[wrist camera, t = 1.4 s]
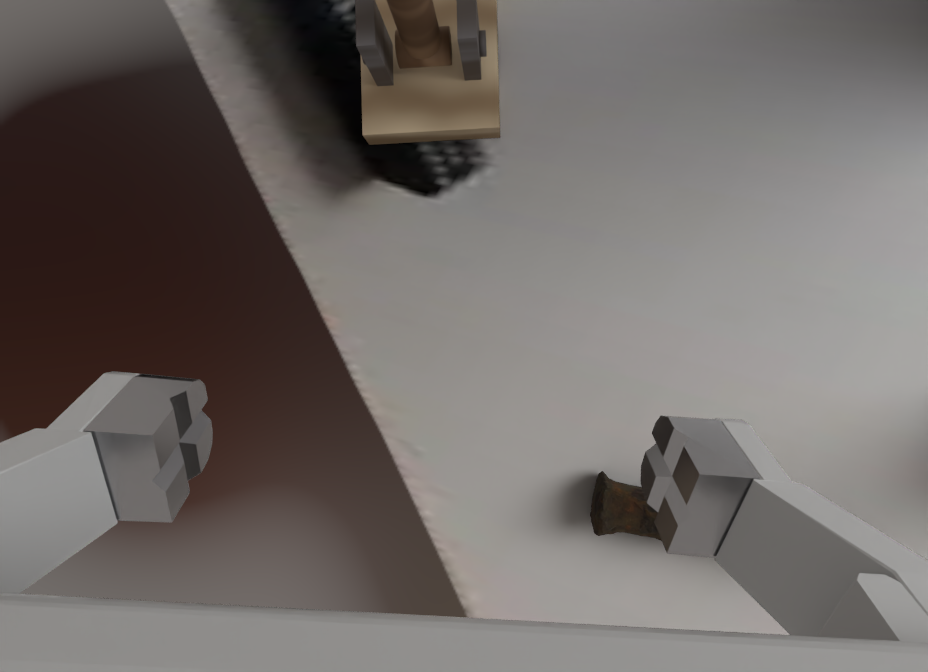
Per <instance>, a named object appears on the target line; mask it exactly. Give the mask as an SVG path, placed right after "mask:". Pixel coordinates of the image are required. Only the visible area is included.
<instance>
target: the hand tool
mask: <svg viewBox="0 0 928 672" xmlns="http://www.w3.org/2000/svg"><path fill="white" fill-rule="evenodd" d="M591 507H592V509H591V513H590V516H591V522H592V525H593V529H594V533H595V534H596V535H598V536H600V535H605V534H614V533H616V532H626V533H631V534H637V535H640V536H648V537H653V538H656V539H659V540H661V537H660V535H659V532H658V530H657V527H656V525H655V523H654V522H655V520H656V517H657V514H658V512H657V511H656V510H654V509H653V508H652V507H651V506H650V505H649V504H647V502H646V500H645V497H644V495H643V492H642V487H637V486H632V485H627V484H623V483H619V482H615V481H613V480H611V479H609V478H608V477H607V476H606V474H605V473H604V472H603V471H602V472H601V473H599V475H598V478H597V481H596V485H595V489H594V493H593V498H592V506H591ZM661 541H662V540H661Z"/></svg>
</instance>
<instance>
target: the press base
mask: <svg viewBox="0 0 928 672" xmlns="http://www.w3.org/2000/svg"><path fill="white" fill-rule="evenodd" d="M433 4H434V8H435V13H436V17H437V21H438V25H439V26H449V27H450V33H451V43H452V65H450V66H435V67H420V68H405V69H400V68H399V66H398V63H397V58H396V51H395V31H396V30H397V27H396V25H395V22H394V19H393V16H392V14H391V11H390V8H389V6H388V3H387V0H355V14H356V47H357V49H358V51H359V52H360V54H361V92H362V135H363V136H364V138H365V139H366V141H367V142H368V143H369V145H374V144H392V143H410V142H428V141H446V140H464V139H482V138H500V117H499V76H498V35H497V0H433Z"/></svg>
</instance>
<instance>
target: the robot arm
mask: <svg viewBox="0 0 928 672" xmlns="http://www.w3.org/2000/svg"><path fill="white" fill-rule="evenodd" d="M207 400H208V399H207V394H206V389H205V384H204V383H203V382H201V381H200V380H199V379H190V378H179V377H168V376H159V375H148V374H137V373H125V372H108V373H104V374H103V375H102V376H101V377H100V378H99V379H98V380H97V381H96V382H94V383H93V384H92V385H91V386H90V387H89V388H88V389H87V390H86V391H85V392H84V393H83V394H82V395H81V396H80V397H79V398H78V399H77V400H76V401H75V402H74V403H73V404H71V405H70V406H69V407H68V408H67V409H66V410H65V411H64V412H63V413H62V414H61V415H60V416H59V417H58V418H57V419H56V420H55V421H54V422H53V423H52V424H51V425H50V426H49V427H48V428H46V429H37V428H35V429H33V430H30V431H28V432H25V433H23V434H21V435H18V436H16V437H13V438H11V439H8V440H6V441H3V442H1V443H0V672H928V560H926V559H924V558H923V557H921V556H920V555H918V554H916V553H915V552H913V551H911V550H910V549H908V548H907V547H905V546H903V545H902V544H900V543H898V542H897V541H895V540H894V539H892V538H890V537H889V536H887V535H885V534H884V533H882V532H881V531H879V530H877V529H876V528H874V527H872V526H871V525H869V524H868V523H866V522H864V521H863V520H861V519H859V518H858V517H856V516H855V515H853V514H851V513H850V512H848V511H846V510H845V509H843V508H842V507H840V506H838V505H837V504H835V503H833V502H832V501H830V500H829V499H827V498H825V497H824V496H822V495H820V494H819V493H817V492H816V491H814V490H812V489H811V488H809V487H808V486H806V485H804V484H803V483H799V482H792V481H791V479H790V478H789V477H788V475H787V474H786V473H785V471H784V470H783V469H782V467H781V466H780V465H779V463H778V462H777V460H776V459H775V458H774V456H773V455H772V454H771V452H770V451H769V450H768V448H767V447H766V446H765V444H764V443H763V442H762V440H761V439H760V438H759V436H758V435H757V434H756V432H755V431H754V430H753V428H752V427H751V426H750V424H748V423H747V422H745V421H743V420H736V419H703V418H688V417H673V416H660V417H659V419H658V420H657V421H656V423H655V426H654V429H653V431H652V435H653V437H654V439H655V441H656V444H655V445H654V446H653V447H651V448H650V449H649V450H647V451H646V452H645V455H644V458H643V462H642V465H641V486H642V492H643V495H644V497H645V500H646V502H647V504H649V505H650V506H651V507H652V508H653V509H654V510H656V511H657V512H658V514H657V517H656V520H655V522H654V523H655V525H656V527H657V530H658V532H659V535H660V537H661V540H662V542H663V545H664V547H665V550H666V552H667V553H670V554H681V555H692V556H703V557H714V558H715V561H716V562H717V563H718V564H719V565H720V566H721V567H722V568H723V569H724V570H725V571H726V572H727V573H728V574H729V575H730V576H731V577H733V578H734V579H735V580H736V581H737V582H738V583H739V584H740V585H741V586H742V587H743V588H744V589H745V590H746V591H747V592H748V593H749V594H750V595H751V596H752V597H753V598H754V599H755V600H756V601H757V602H758V603H759V604H760V605H761V606H762V607H763V608H764V609H765V610H766V611H767V612H768V613H769V614H770V615H771V616H772V617H773V618H774V619H775V620H776V621H777V622H778V623H779V624H780V625H781V626H782V627H783V628H784V629H785V630H786V631H787V632H788V633H789V634H790V635H777V634H758V633H739V632H720V631H701V630H682V629H664V628H646V627H628V626H610V625H592V624H574V623H555V622H537V621H519V620H501V619H482V618H464V617H463V618H462V617H444V616H426V615H408V614H389V613H370V612H352V611H332V610H314V609H296V608H277V607H259V606H240V605H239V606H238V605H222V604H203V603H184V602H166V601H146V600H129V599H109V598H92V597H72V596H54V595H35V594H20V593H21V592H22V591H24V590H25V589H27V588H28V587H30V586H31V585H32V584H34V583H35V582H36V581H38V580H39V579H40V578H42V577H43V576H45V575H46V574H47V573H49V572H50V571H52V570H53V569H55V568H56V567H57V566H59V565H60V564H61V563H63V562H64V561H66V560H67V559H68V558H70V557H71V556H73V555H74V554H75V553H77V552H78V551H80V550H81V549H82V548H84V547H85V546H87V545H88V544H89V543H91V542H92V541H94V540H95V539H96V538H98V537H99V536H100V535H102V534H103V533H105V532H106V531H108V530H109V529H110V528H112V527H113V526H114V525H116V524H117V520H118V521H148V522H172V521H173V520H174V518H175V516H176V515H177V513H178V511H179V509H180V508H181V506H182V504H183V503H184V501H185V499H186V498H187V496H188V494H189V493H190V491H189V485H188V480H190V479H192V478H193V477H195V476H197V475H198V474H200V473H201V472H202V470H203V468H204V466H205V464H206V463H207V461H208V457H209V453H210V450H211V446H212V425H211V420H210V419H209V418H208V417H207V416H206V415H205V414H204V413H203V412H202V411H201V409H202V408H203V406H204V405H205V403H206V402H207Z"/></svg>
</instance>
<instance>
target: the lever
mask: <svg viewBox="0 0 928 672" xmlns="http://www.w3.org/2000/svg"><path fill="white" fill-rule="evenodd" d="M387 3H388V6H389V8H390V11H391V14H392V16H393V19H394V22H395V25H396V27H397V30H396V31H395V51H396V58H397V63H398V66H399V68H400V69H405V68H420V67H435V66H450V65H452V43H451V33H450V27H449V26H439V25H438V21H437V17H436V13H435V8H434V4H433V0H387Z"/></svg>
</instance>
